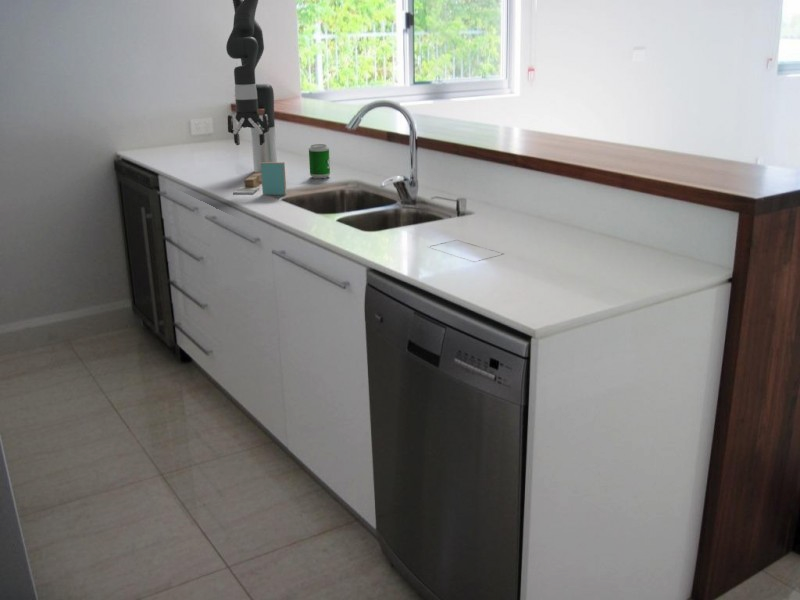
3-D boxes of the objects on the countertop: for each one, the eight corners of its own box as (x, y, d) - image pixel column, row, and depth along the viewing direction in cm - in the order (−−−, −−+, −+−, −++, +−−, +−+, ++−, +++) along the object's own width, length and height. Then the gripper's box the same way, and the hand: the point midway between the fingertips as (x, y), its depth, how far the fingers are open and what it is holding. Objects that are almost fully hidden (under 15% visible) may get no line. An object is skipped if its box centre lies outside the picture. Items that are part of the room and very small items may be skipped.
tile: (263, 194, 272) (261, 162, 268) (286, 194, 271) (284, 162, 267) (262, 194, 270) (260, 162, 267) (285, 195, 270) (283, 162, 266)
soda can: (326, 179, 295) (325, 147, 291) (307, 178, 296) (305, 146, 292) (332, 175, 302) (331, 144, 298) (313, 175, 303) (312, 143, 299)
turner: (250, 181, 293) (249, 172, 292) (269, 182, 292) (268, 172, 291) (233, 194, 272) (232, 184, 271) (253, 194, 271) (252, 184, 270)
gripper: (269, 96, 276) (272, 143, 282) (229, 96, 278) (233, 143, 283) (263, 98, 269) (266, 146, 275) (222, 98, 271) (226, 146, 276)
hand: (249, 144), depth 279 cm, fingers open, 8 cm apart
